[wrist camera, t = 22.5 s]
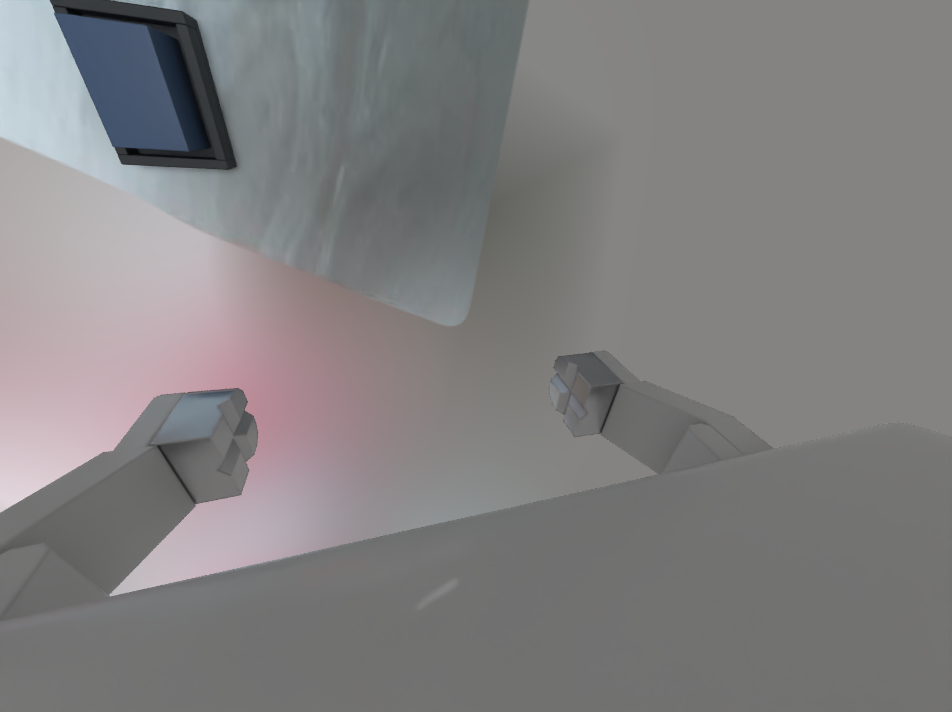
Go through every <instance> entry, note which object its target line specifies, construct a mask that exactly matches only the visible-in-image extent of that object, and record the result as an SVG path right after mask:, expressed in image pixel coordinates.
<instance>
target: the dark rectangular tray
mask: <svg viewBox="0 0 952 712" xmlns="http://www.w3.org/2000/svg"><path fill="white" fill-rule="evenodd" d="M50 2H51V4H52V5H53V9H54V11H55V13H63V14H70V15H77V16H84V17H91V18H98V19H106V20H113V21H120V22H127V23H134V24H142V25H147V26H149V27H151V28H153V29H156V30H158V31H160V32H162V33H164V34H167V35H169V36H171V37H173V38H175V39H177V40H178V42H179V46H180V49H181V52H182V55H183V59H184V62H185V65H186V69H187V72H188V75H189V78H190V82H191V85H192V88H193V91H194V95H195V98H196V101H197V104H198V108H199V111H200V114H201V118H202V121H203V124H204V127H205V131H206V134H207V137H208V140H209V144H210V147H211V148H207V149H201V150H195V151H172V150H155V149H139V148H122V147H115V150H116V152H117V154H118V157H119V159H120V161H121V164H124V165H144V166H165V167H185V168H205V169H225V170H229V169H231V168H234V167H236V162H235V159H234V155H233V151H232V148H231V144H230V141H229V137H228V133H227V130H226V126H225V122H224V119H223V115H222V112H221V108H220V104H219V101H218V97H217V94H216V90H215V86H214V83H213V79H212V76H211V72H210V68H209V65H208V61H207V58H206V54H205V50H204V47H203V43H202V39H201V36H200V32H199V29H198V25H197V21H196V20H195V19H194V18H192V17H190V16H189V15H187V14H186V13H184V12H182V11H177V10H170V9H164V8H157V7H151V6H144V5H137V4H131V3H124V2H118V1H111V0H50Z"/></svg>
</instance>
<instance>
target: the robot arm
mask: <svg viewBox="0 0 952 712" xmlns="http://www.w3.org/2000/svg"><path fill="white" fill-rule="evenodd" d="M554 369H555V371H556V373H557V374H556V375H555V376H554V377H553V378H552V379H551V381H550V386H549V395H550V400H551V402H552V405H553V406H554V407H555V409H556V410H557V411H559V412H560V413H562V414H564V419H563V420H564V422H565V424H566V426H567V427H568V428H569V430H570V431H571V433H572V434H573V436H574V437H579V436H586V435H593V434H600V433H601V435H602V436H603V437H605V438H606V439H607V440H609V441H610V442H612V443H613V444H615V445H616V446H618V447H620V448H621V449H622V450H624V451H625V452H627V453H628V454H630V455H631V456H633V457H634V458H636V459H637V460H639V461H640V462H642V463H643V464H644V465H646V466H648V467H649V468H651V469H652V470H653V471H655V472H656V473H658V475H654V476H650V477H645V478H640V479H636V480H632V481H627V482H623V483H618V484H613V485H609V486H605V487H600V488H596V489H591V490H587V491H582V492H578V493H573V494H569V495H564V496H560V497H555V498H551V499H547V500H542V501H538V502H533V503H529V504H524V505H520V506H516V507H511V508H506V509H502V510H497V511H493V512H489V513H484V514H479V515H475V516H470V517H466V518H461V519H457V520H452V521H448V522H444V523H439V524H434V525H430V526H426V527H421V528H417V529H412V530H407V531H403V532H398V533H394V534H389V535H385V536H380V537H376V538H372V539H367V540H363V541H359V542H354V543H349V544H344V545H340V546H335V547H331V548H327V549H322V550H317V551H313V552H308V553H304V554H300V555H295V556H291V557H286V558H282V559H277V560H273V561H268V562H264V563H260V564H255V565H250V566H246V567H241V568H237V569H233V570H228V571H223V572H219V573H214V574H210V575H205V576H201V577H197V578H192V579H187V580H183V581H179V582H174V583H169V584H165V585H160V586H156V587H152V588H147V589H143V590H138V591H134V592H129V593H125V594H120V595H116V596H111V597H110V596H109V594H110V593H111V592H112V591H113V590H114V589H115V588H116V587H117V586H118V585H119V584H120V583H121V582H122V581H123V580H124V579H125V578H126V577H127V576H128V575H129V574H130V573H131V572H132V571H133V570H134V569H135V568H136V567H137V566H138V565H139V564H140V563H141V561H142V560H143V559H144V558H145V557H146V556H147V555H148V554H149V553H150V552H151V551H152V550H153V549H154V548H155V547H156V546H157V545H158V544H159V543H160V542H161V541H162V540H163V539H164V538H165V537H166V536H167V535H168V534H169V533H170V532H171V531H172V530H173V529H174V528H175V527H176V526H177V525H178V524H179V523H180V522H181V521H182V520H183V519H184V517H186V516H187V514H189V513H190V511H191V510H192V509H193V508H194V507H195V504H198V503H203V502H208V501H213V500H218V499H223V498H228V497H234V496H239V495H241V493H242V490H243V487H244V484H245V481H246V478H247V475H248V472H249V468H248V467H247V464H246V461H247V460H248V459H250V458H251V457H252V456H253V455H254V454H255V451H256V447H257V440H258V430H257V425H256V422H255V419H254V416H253V415H251V414H249V413H248V412H246V411H245V407H246V405H247V402H248V401H247V399H246V397H245V395H244V392H243V391H242V390H240V389H239V388H233V389H221V390H209V391H198V392H188V393H175V394H165V395H160V396H157V397H155V398H154V399H153V400H152V401H151V402H150V404H149V405H148V406H147V408H146V409H145V410H144V411H143V413H142V414H141V415H140V417H139V418H138V419H137V421H136V422H135V423H134V424H133V426H132V427H131V428H130V430H129V431H128V432H127V434H126V435H125V436H124V437H123V439H122V440H121V442H120V443H119V444H118V445H117V447H116V448H115V449H114V451H110V452H103V453H101V454H100V455H98V456H96V457H95V458H93V459H91V460H89V461H88V462H86V463H84V464H83V465H81V466H79V467H78V468H76V469H74V470H72V471H71V472H69V473H67V474H66V475H64V476H62V477H61V478H59V479H57V480H55V481H54V482H52V483H51V484H49V485H47V486H46V487H44V488H42V489H40V490H39V491H37V492H35V493H33V494H32V495H30V496H28V497H26V498H25V499H23V500H21V501H20V502H18V503H16V504H15V505H13V506H11V507H10V508H8V509H6V510H4V511H3V512H1V513H0V712H952V437H950V436H948V435H944V434H941V433H938V432H935V431H932V430H929V429H926V428H922V427H918V426H915V425H910V424H906V423H888V424H882V425H877V426H873V427H869V428H864V429H860V430H856V431H851V432H847V433H842V434H838V435H833V436H829V437H825V438H820V439H816V440H811V441H807V442H802V443H798V444H793V445H789V446H784V447H780V448H775V449H774V448H772V447H771V446H770V445H769V444H768V443H766V442H765V441H764V440H762V439H761V438H760V437H758V436H757V435H756V434H755V433H754V432H752V431H751V430H750V429H749V428H747V427H746V426H745V425H744V424H742V423H741V422H739V421H738V420H737V419H736V418H735V417H733V416H731V415H728V414H725V413H723V412H721V411H718V410H716V409H713V408H711V407H708V406H706V405H703V404H701V403H699V402H696V401H694V400H691V399H688V398H686V397H684V396H681V395H679V394H676V393H674V392H671V391H669V390H666V389H664V388H661V387H659V386H657V385H654V384H652V383H649V382H647V381H640V380H639V379H637V378H636V377H635V376H634V375H633V374H632V373H631V372H630V371H629V370H628V369H627V368H625V367H624V366H623V365H622V364H621V363H620V362H619V361H618V360H617V359H616V358H615V357H613V356H612V355H611V354H610V353H609V352H607V351H596V352H589V353H584V354H576V355H566V356H558V358H557V359H556V361H555V365H554Z"/></svg>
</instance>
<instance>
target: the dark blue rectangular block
mask: <svg viewBox="0 0 952 712" xmlns="http://www.w3.org/2000/svg"><path fill="white" fill-rule="evenodd" d="M54 14H55V16H56V19H57V21H58V23H59V26H60V28H61V30H62V32H63V35H64V37H65V39H66V41H67V44H68V46H69V48H70V50H71V53H72V55H73V57H74V59H75V62H76V64H77V66H78V69H79V71H80V73H81V75H82V78H83V80H84V82H85V84H86V87H87V89H88V91H89V93H90V96H91V98H92V100H93V103H94V105H95V107H96V109H97V112H98V114H99V116H100V118H101V121H102V123H103V125H104V127H105V130H106V132H107V134H108V137H109V139H110V141H111V143H112V146H113V147H122V148H139V149H155V150H172V151H195V150H201V149H207V148H211V147H210V144H209V140H208V137H207V134H206V131H205V127H204V124H203V121H202V118H201V114H200V111H199V108H198V104H197V101H196V98H195V95H194V91H193V88H192V85H191V82H190V78H189V75H188V72H187V69H186V65H185V62H184V59H183V55H182V52H181V49H180V46H179V42H178V40H177V39H175V38H173V37H171V36H169V35H167V34H164V33H162V32H160V31H158V30H156V29H153V28H151V27H149V26H147V25H142V24H134V23H127V22H120V21H113V20H106V19H98V18H91V17H84V16H77V15H70V14H63V13H54Z"/></svg>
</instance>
